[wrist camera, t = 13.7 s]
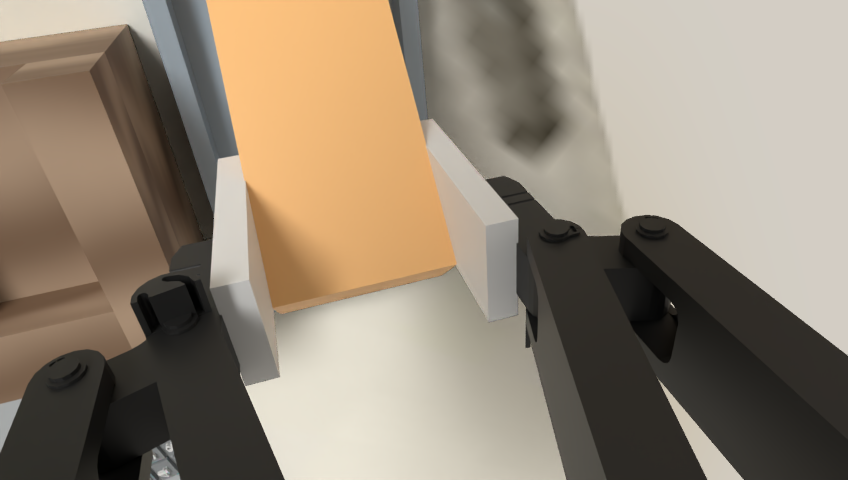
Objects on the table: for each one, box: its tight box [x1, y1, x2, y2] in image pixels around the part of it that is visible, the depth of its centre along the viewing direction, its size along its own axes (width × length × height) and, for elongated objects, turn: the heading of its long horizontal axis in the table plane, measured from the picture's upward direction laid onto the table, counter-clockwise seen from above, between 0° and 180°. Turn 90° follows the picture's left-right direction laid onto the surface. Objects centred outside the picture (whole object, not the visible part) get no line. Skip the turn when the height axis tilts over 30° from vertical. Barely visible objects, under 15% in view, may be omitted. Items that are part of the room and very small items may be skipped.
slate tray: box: [142, 0, 428, 312], centre depth 25 cm, size 24×11×2 cm, turn 5°
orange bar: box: [206, 0, 457, 314], centre depth 17 cm, size 16×5×2 cm
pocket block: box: [0, 24, 204, 404], centre depth 23 cm, size 12×11×8 cm
